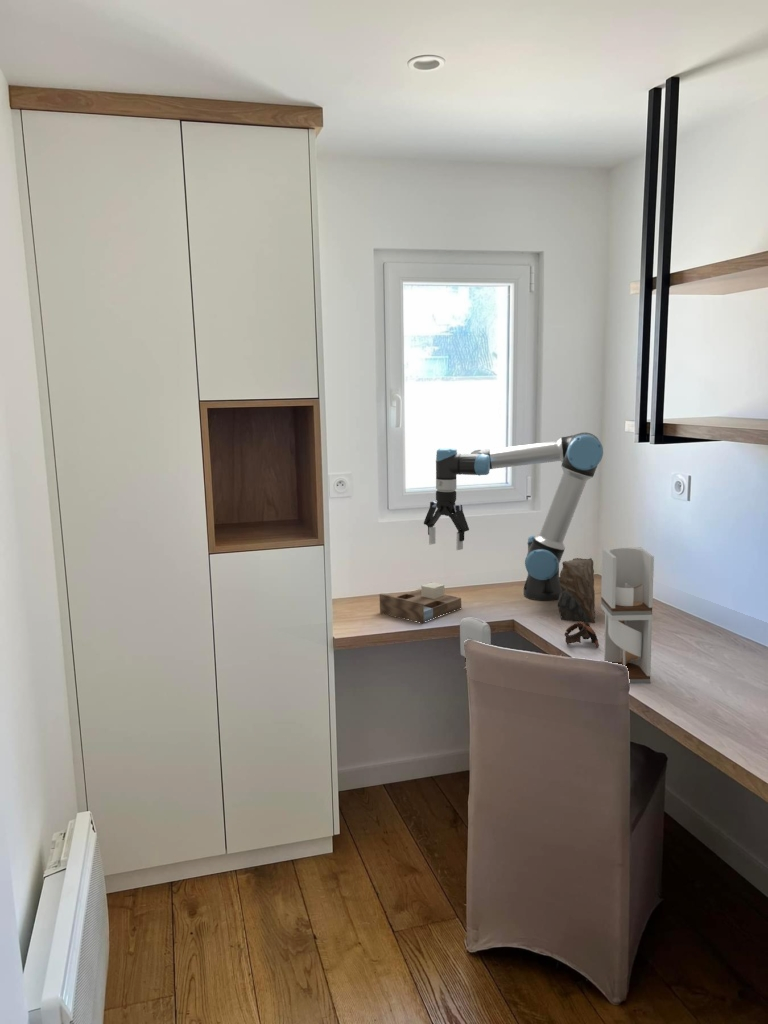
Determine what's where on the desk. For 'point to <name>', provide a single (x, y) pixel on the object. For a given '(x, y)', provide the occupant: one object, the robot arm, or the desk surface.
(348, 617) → the desk surface
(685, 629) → the desk surface
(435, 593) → the cream block
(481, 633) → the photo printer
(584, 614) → the brown rock
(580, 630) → the brown curved openwork arch
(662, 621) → the desk surface
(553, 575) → the robot arm
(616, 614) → the curved two-tier shelf
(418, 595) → the trap deck
